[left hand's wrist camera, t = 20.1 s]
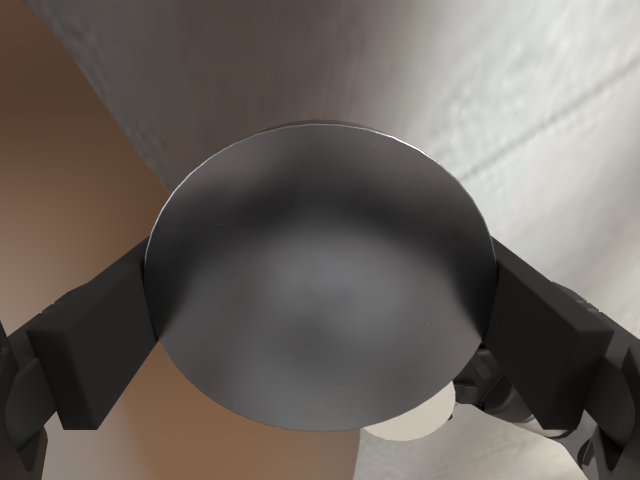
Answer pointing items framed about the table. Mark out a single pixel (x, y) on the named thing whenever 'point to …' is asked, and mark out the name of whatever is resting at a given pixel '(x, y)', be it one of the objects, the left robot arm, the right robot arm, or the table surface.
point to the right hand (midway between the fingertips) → (347, 318)
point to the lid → (320, 276)
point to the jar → (418, 418)
